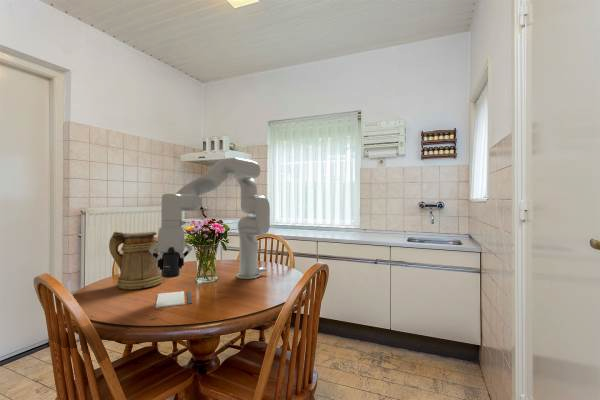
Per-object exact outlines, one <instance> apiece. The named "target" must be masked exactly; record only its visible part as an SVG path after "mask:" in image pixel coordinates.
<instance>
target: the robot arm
mask: <svg viewBox="0 0 600 400" xmlns="http://www.w3.org/2000/svg"><path fill="white" fill-rule="evenodd" d="M260 174H261V167H260V164H259V163H258V162H256V161H253V160H250V159H246V158H245V159H244V158H240V157H229V158H228V157H227V158H221V159H219V160H217V162H215V163H214V164H213V165H212V166H211V167H210V168H209V169H208V170H207V171H206V172H204V174H202V175H201V176H199V177H197V178H195V179H194V180H192V181H190V182H188V183H186V184H185V185H184V186H182V187H181V188H180V189H179V190H177V191H176V193H164V194H162V196H161V213H160V214H161V216H160V217H161V219H160V221H161V223H160V224H161V225H160V227H159V228H158V234H157V240H156V243H157V244H155V245H154V246H153V247H152V248H151V249H149V252H150V253H151V254H152V255H153V256H154V257H155V258H157V260H158V268H159V269H160V270H162V255H163V254H164V253H168V252H167V251H168V248H169V247H174V250H175V252H178V253H179V254H180V270H182V268H183V267H184V266H185V265H184V264H185V260H184V259H185V258H186V257H187V255H189V254H190V253H191V252H192V250H193V247H192V246H191V245H189V244H188V243H187V242H186V241H185V239H186V237H185V228H184V227H183V225H186V221H185V220H182V217H183V212H197V211H199V210H200V209H201V208H202V206H203V200H202V198H201V197H200V195H201V196H202V195H203V194H207V193H209V192H212V191H214V190H216V189H218V188H219V186H221V185H222V184H223V182H225V181H226V179H228V178H229V177H230V176H231V177H233V178H234V179H235V180H236V182H238V185H239V187H240V210H241V211H242V213H244V214H248V215H249V214H250V215H252V216H247V215H246V216H242V217H241V218H240V219H239V220H238V222H237V230H238V237H239V265H238V267H239V268H238V269H239V272H238V273H236V278H238V279H240V280H241V279H242V280H252V279H253V278H254V279H257V277H258V278H259V277H261V275H262V274H261V273H266V272H267V267H259V264H258V259H259V240H258V238H257V236H259V237H260V236H261V237H262V236H265V235H267V234H268V233H269V230H270V226H271V225H270V224H271V207H270V201H269V199H268V198H267V197H265V196H264V195H258V188H257V183H256V181H255V179H256V178H258V177H259V176H260ZM253 215H255V216H253ZM185 248H187V250H185ZM155 249H156V251H157V253H156V252H155V251H154V250H155ZM158 253H159V254H158Z"/></svg>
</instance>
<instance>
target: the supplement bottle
mask: <svg viewBox="0 0 600 400" xmlns="http://www.w3.org/2000/svg"><path fill="white" fill-rule="evenodd" d="M167 252H168V253H163V255H162V256H161V258H162V270H161V271H160V273H161V276H162V278H164V279H172V278H177V277H179V276H180V275H181V273H180V271H181V269H180V258H181V256H180V254H179V252H175V250H174V247H169V248H168V251H167Z"/></svg>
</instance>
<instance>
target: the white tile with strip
mask: <svg viewBox="0 0 600 400" xmlns="http://www.w3.org/2000/svg"><path fill="white" fill-rule="evenodd" d="M186 295H187V297H186V298H187V305H192V304H193V300H192V299H193V298H192V291H191V290H188V291H186ZM182 305H183V306H184V305H185V291H173V292H161V293H158V294H157V299H156V303H155V309H158V308H165V307H166V308H167V307H175V306H182Z"/></svg>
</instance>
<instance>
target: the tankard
mask: <svg viewBox="0 0 600 400" xmlns="http://www.w3.org/2000/svg"><path fill="white" fill-rule="evenodd" d="M156 235H158V234H157V232H156V231H144V232H122V231H114V232H113V233H112V234H111V237H110V239H109V244H108V248H109V252H110V254H111V257H112V258H113V260H114V262H115V263H116V264H117V266H118V269H119V272H120V274H119V276H118V278H117V287H118V288H119V289H120V290H139V289H140V290H142V289H146V288H152V287H154V286H157V285H160V284H161V283H162V282H163V281H164V279H163V277H162V276H161V271H160V267H159V268H158V260H157V258H155V257H154V256H153V255H152V254H151V253H150V252H149V249H151V248H152V247H153V246H154V245H155V244H157V240H156V238H155V237H154V236H156ZM120 245H122V246H121V252H122V253H121V252H120V250H119V246H120ZM154 251H155V252H156V253H157V254H158V251H157V248H156V249H155V250H154Z"/></svg>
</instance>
